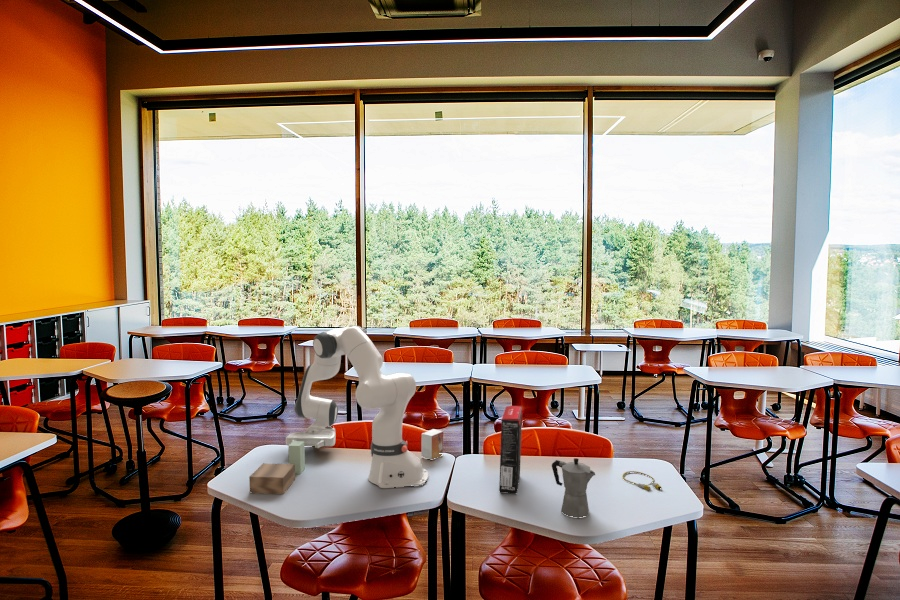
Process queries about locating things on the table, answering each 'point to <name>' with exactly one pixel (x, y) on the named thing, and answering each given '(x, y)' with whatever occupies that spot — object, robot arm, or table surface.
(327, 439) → the robot arm
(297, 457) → the sage block
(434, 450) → the small box
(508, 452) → the graphics card box
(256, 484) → the walnut block
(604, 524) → the table surface
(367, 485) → the table surface
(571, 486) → the coffeepot
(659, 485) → the extension cord
